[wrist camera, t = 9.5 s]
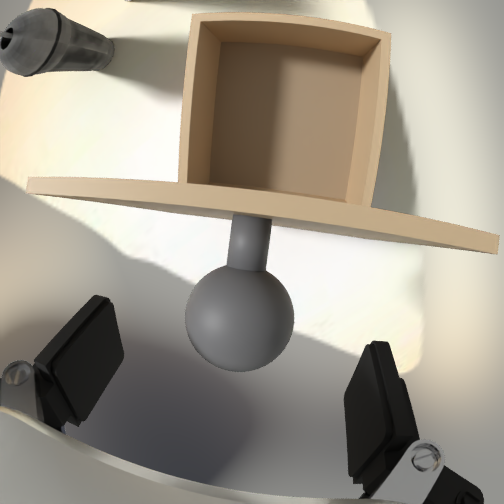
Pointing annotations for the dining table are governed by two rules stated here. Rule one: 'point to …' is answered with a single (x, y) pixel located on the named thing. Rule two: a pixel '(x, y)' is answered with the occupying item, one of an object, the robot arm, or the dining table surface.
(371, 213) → the flap
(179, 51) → the dining table surface
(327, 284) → the dining table surface
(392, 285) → the dining table surface
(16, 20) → the beverage cup
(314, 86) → the light brown open box
